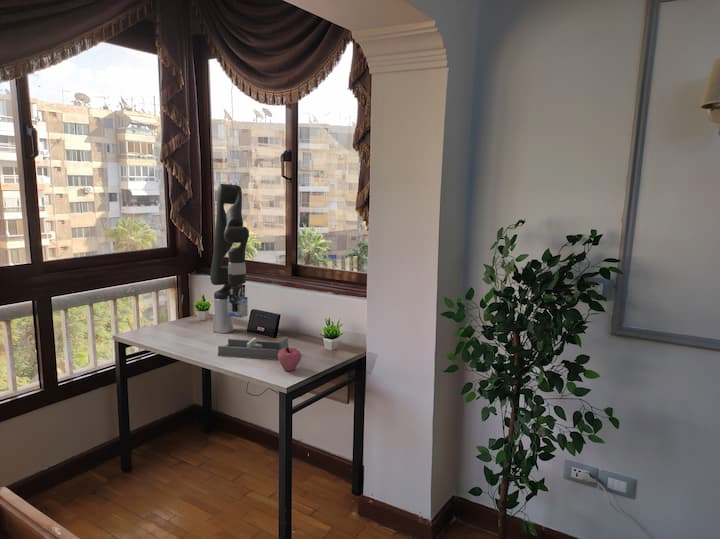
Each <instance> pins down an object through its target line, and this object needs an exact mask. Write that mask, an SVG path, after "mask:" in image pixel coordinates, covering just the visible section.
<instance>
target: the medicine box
mask: <svg viewBox="0 0 720 539" xmlns="http://www.w3.org/2000/svg"><path fill="white" fill-rule="evenodd" d="M231 299H232V298H231ZM248 300H249V298H248V296H245V297H243V296H239V298H238V311H237V312H232V303H230V301H229V296H228V316H233V318H234V317H235V318H240V319H241V318H245V317H248V315H249V314H248V305H249V304H248Z"/></svg>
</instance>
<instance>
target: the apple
mask: <svg viewBox="0 0 720 539" xmlns="http://www.w3.org/2000/svg"><path fill="white" fill-rule="evenodd" d="M301 359H302V356H301V352H300V350H298V349H297V348H296V347H288V348H283V349H281V350H279V353H278V361H279V364H280V365H281V367H282V368H283V370H284V371H287V372H293V371H295V370H296V369H297V367H298V365H299V363H300V361H301Z"/></svg>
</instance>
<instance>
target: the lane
mask: <svg viewBox="0 0 720 539" xmlns="http://www.w3.org/2000/svg"><path fill="white" fill-rule="evenodd" d="M251 340H252V339H241V338H239V339H238V338H228V339H227V344H226V345H219V346H218V347H217V350H218V351H217V356H219V357H220V356H221V357H230V358H231V357H232V358H233V357H234V358H244V357H249V358H248V359H259V358H262V359H263V360H274V359H276V361H277V360H278V353H279V350H281V349H283V348H289V341H288V340H289V336H284V337H283V338H282V339H281V340H280V341H271V340H270V341H269V340H268V341H267V340H256V341H257V344H262V348H247V343H248V342H249V341H251ZM278 361H279V360H278Z"/></svg>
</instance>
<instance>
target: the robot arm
mask: <svg viewBox="0 0 720 539" xmlns="http://www.w3.org/2000/svg"><path fill="white" fill-rule="evenodd" d="M242 191H243V190H242V187H241V186H240V185H237V184H229V183H220V184H219V185H218V186H217V190H216V192H217V193H216V194H217V195H216V220H215V228H214V238H213V239H214V241H213V253H212V254H213V256H212V261H211V267H210V273H209V275H210V276H209V278H210V283H211V284H212V285H213V286H221V285H223V287H221V288H220V289H218V290H216V291H215V292H214V293H213V303H214V304H213V307H214V312H213V313H212V328H213V329H212V331H213V332H215V333H219V334H228V333H231V332H234V316H228V296H229V301H230V303H232V312H237V311H238V298H239V296H243V297H246V296H245V295H246V285H245V284H246V282H247V280H246V279H247V271H246V270H247V269H246V268H247V266H246V249H247V248H246V247H247V244H248V241H249V238H250V231H249V229H248V227H246V226H244V221H243V220H244V219H243V213H242V208H243V192H242ZM226 204H227V205H231V207H230V208H228V209H227V211H226V210H225V206H224V205H226ZM237 243H239V245H238V246H237V247H233V245H234V244H237ZM232 247H233V248H232ZM227 254H228V265H223V266H222V262H223V261H224V259H225V257H226V255H227ZM231 298H232V299H231Z"/></svg>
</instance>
